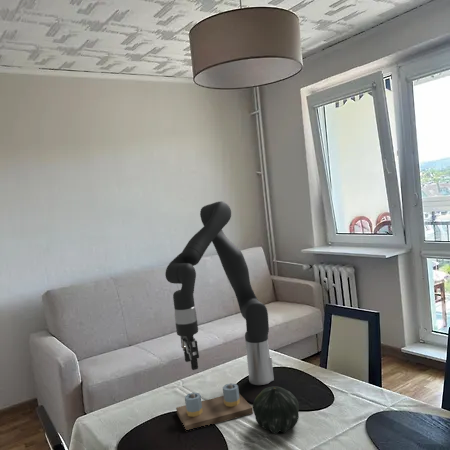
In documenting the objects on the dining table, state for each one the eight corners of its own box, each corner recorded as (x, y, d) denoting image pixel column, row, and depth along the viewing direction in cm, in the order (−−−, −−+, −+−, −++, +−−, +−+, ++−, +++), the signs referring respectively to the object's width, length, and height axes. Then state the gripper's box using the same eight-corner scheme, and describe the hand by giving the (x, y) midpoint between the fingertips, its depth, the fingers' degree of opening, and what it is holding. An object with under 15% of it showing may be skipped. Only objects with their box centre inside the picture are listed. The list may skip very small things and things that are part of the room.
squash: (273, 393, 157) (255, 373, 148) (312, 404, 148) (294, 383, 139) (258, 432, 150) (238, 414, 141) (297, 447, 141) (278, 428, 132)
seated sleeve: (236, 398, 163) (234, 382, 163) (241, 404, 159) (239, 387, 158) (222, 401, 162) (221, 385, 161) (227, 407, 157) (225, 391, 156)
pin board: (238, 397, 169) (236, 374, 168) (252, 413, 155) (250, 388, 155) (176, 412, 161) (174, 389, 160) (186, 431, 148) (183, 405, 147)
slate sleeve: (199, 407, 159) (197, 391, 159) (203, 414, 154) (202, 397, 154) (185, 411, 157) (183, 394, 157) (189, 417, 152) (187, 401, 152)
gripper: (202, 322, 149) (207, 369, 150) (191, 313, 162) (196, 356, 164) (180, 327, 146) (186, 375, 148) (170, 317, 160) (176, 361, 161)
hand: (191, 365), depth 156 cm, fingers open, 8 cm apart
